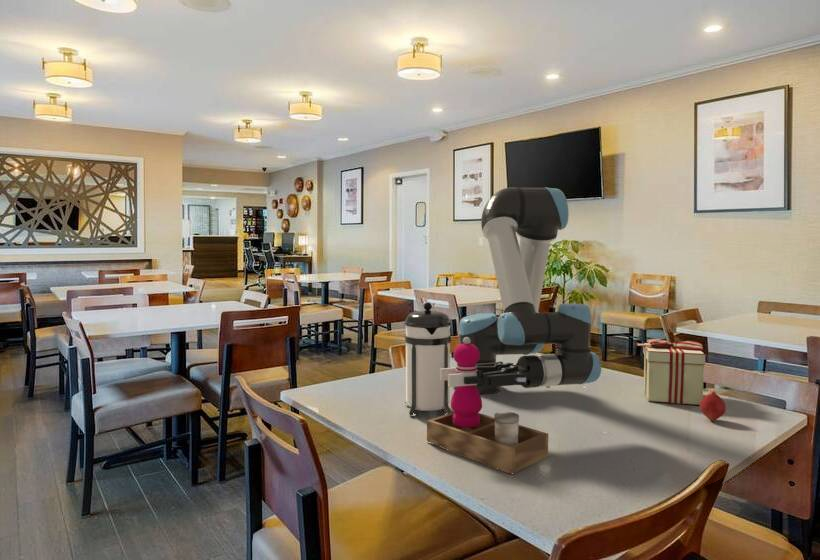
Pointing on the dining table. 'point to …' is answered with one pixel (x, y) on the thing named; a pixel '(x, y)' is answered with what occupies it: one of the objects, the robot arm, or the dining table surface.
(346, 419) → the dining table surface
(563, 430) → the dining table surface
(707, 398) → the onion
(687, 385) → the gift box
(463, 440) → the caddy
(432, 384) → the coffee press
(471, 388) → the pepper mill
